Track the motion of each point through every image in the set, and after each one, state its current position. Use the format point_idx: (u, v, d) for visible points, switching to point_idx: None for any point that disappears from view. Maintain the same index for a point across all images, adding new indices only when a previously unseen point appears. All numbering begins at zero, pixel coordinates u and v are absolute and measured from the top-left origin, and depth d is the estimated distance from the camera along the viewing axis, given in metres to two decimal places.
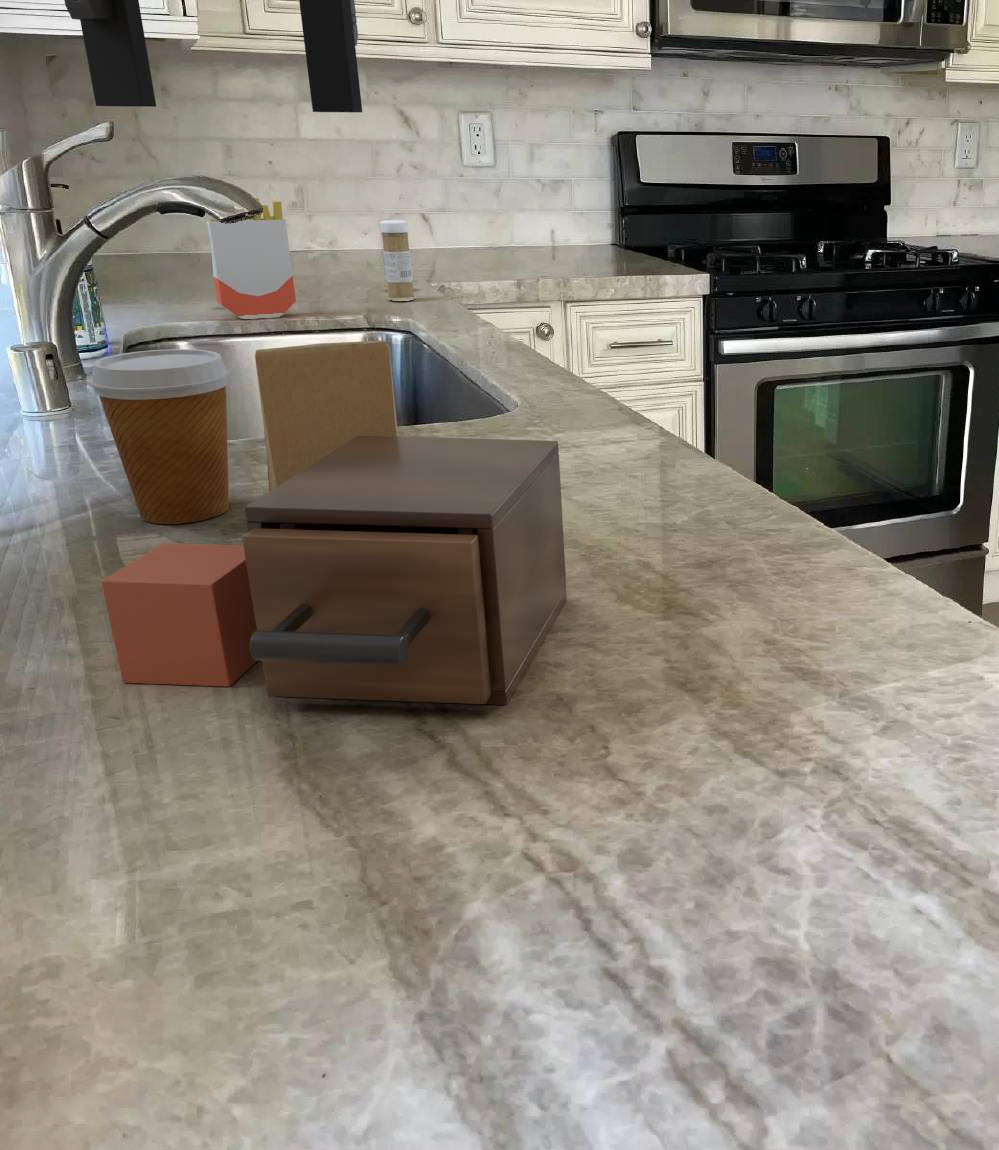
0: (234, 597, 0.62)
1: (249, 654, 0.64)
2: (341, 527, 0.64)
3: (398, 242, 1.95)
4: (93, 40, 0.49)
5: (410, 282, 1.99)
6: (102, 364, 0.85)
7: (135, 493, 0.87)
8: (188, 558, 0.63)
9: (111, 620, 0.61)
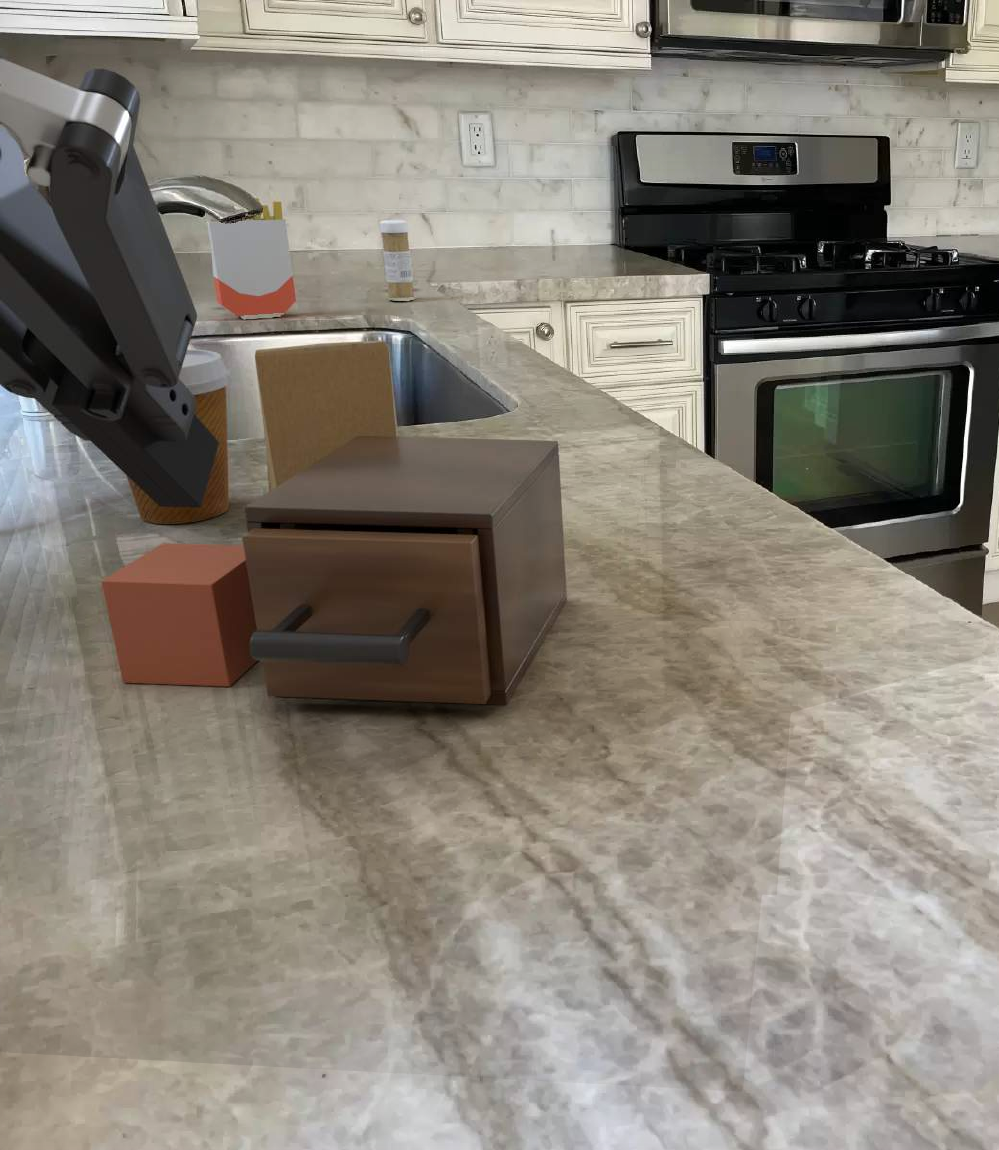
0: (234, 597, 0.62)
1: (249, 654, 0.64)
2: (341, 527, 0.64)
3: (398, 242, 1.95)
4: None
5: (410, 282, 1.99)
6: None
7: (135, 493, 0.87)
8: (188, 558, 0.63)
9: (111, 620, 0.61)
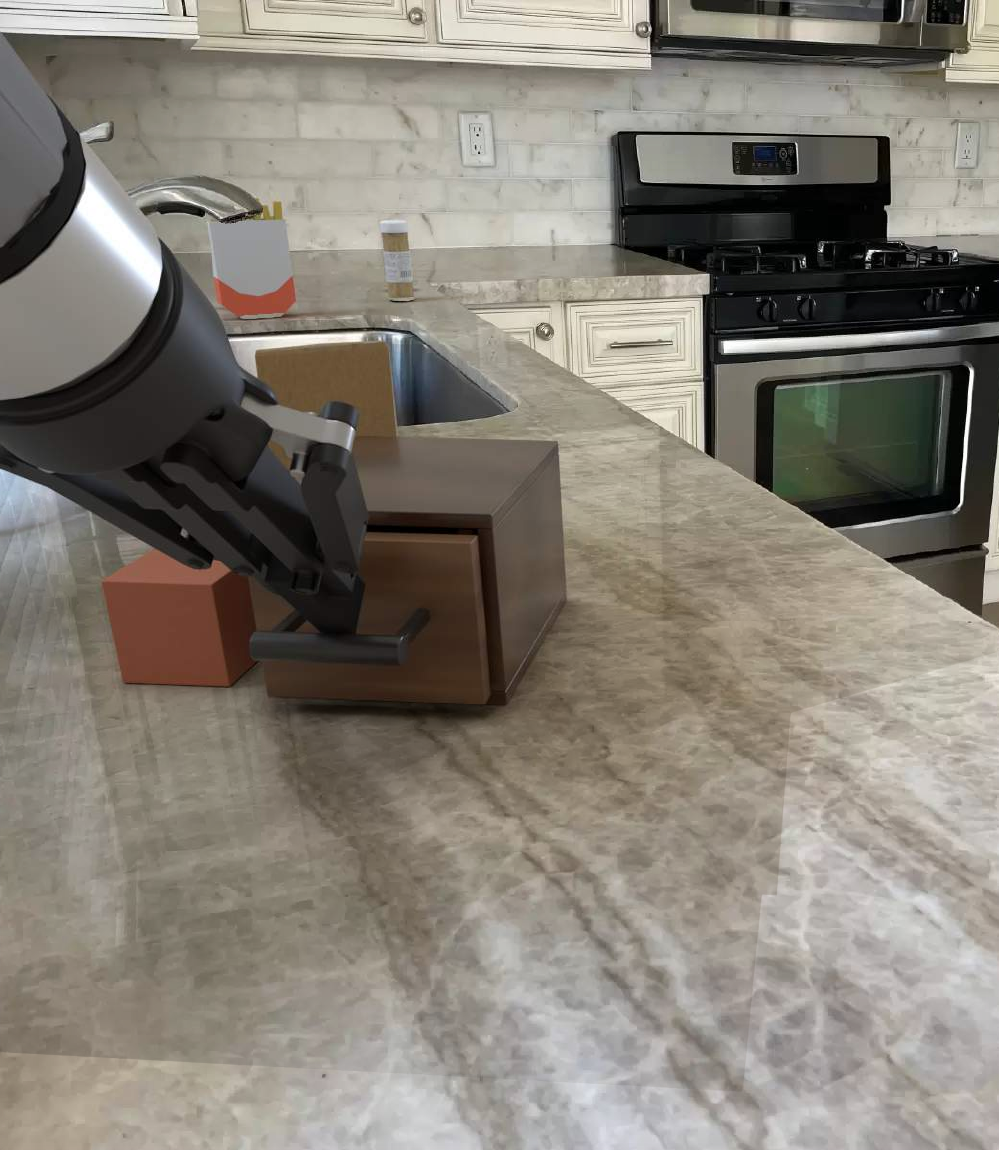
0: (234, 597, 0.62)
1: (249, 654, 0.64)
2: None
3: (398, 242, 1.95)
4: None
5: (410, 282, 1.99)
6: None
7: None
8: None
9: (111, 620, 0.61)
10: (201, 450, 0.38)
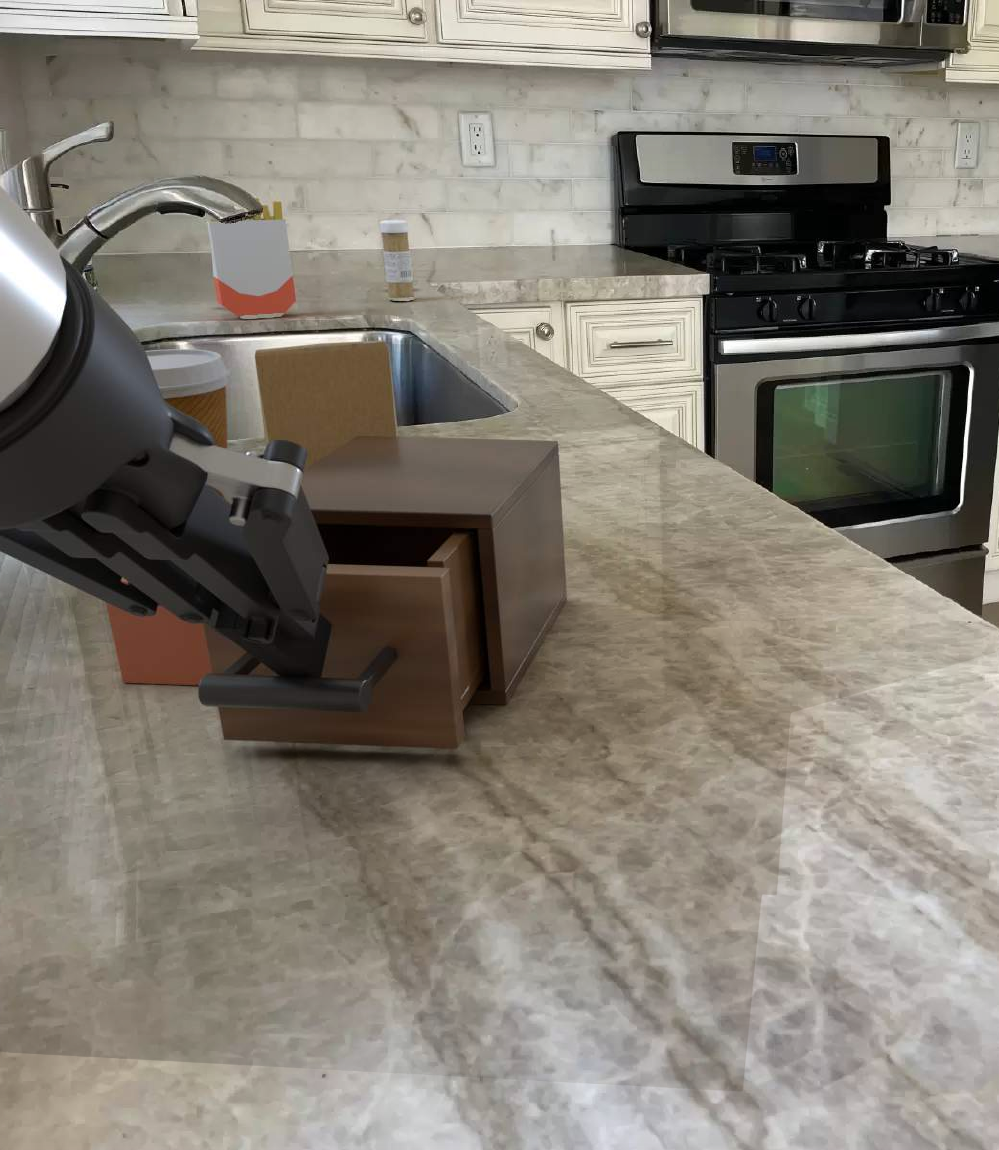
0: None
1: None
2: None
3: (398, 242, 1.95)
4: None
5: (410, 282, 1.99)
6: None
7: None
8: None
9: (111, 620, 0.61)
10: (128, 496, 0.34)
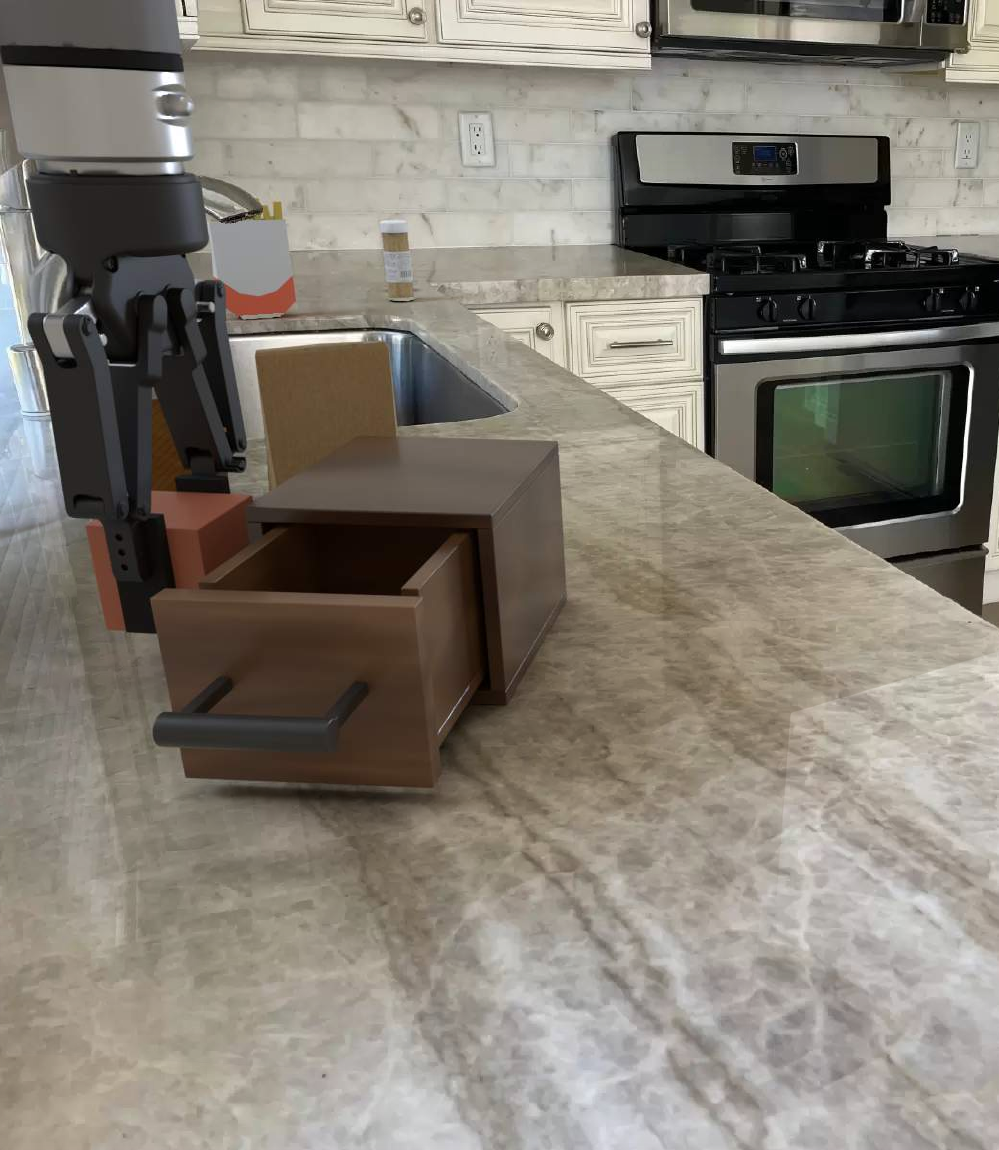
0: (220, 544, 0.61)
1: None
2: (275, 579, 0.56)
3: (398, 242, 1.95)
4: (127, 587, 0.60)
5: (410, 282, 1.99)
6: None
7: None
8: (174, 505, 0.62)
9: (95, 565, 0.60)
10: None
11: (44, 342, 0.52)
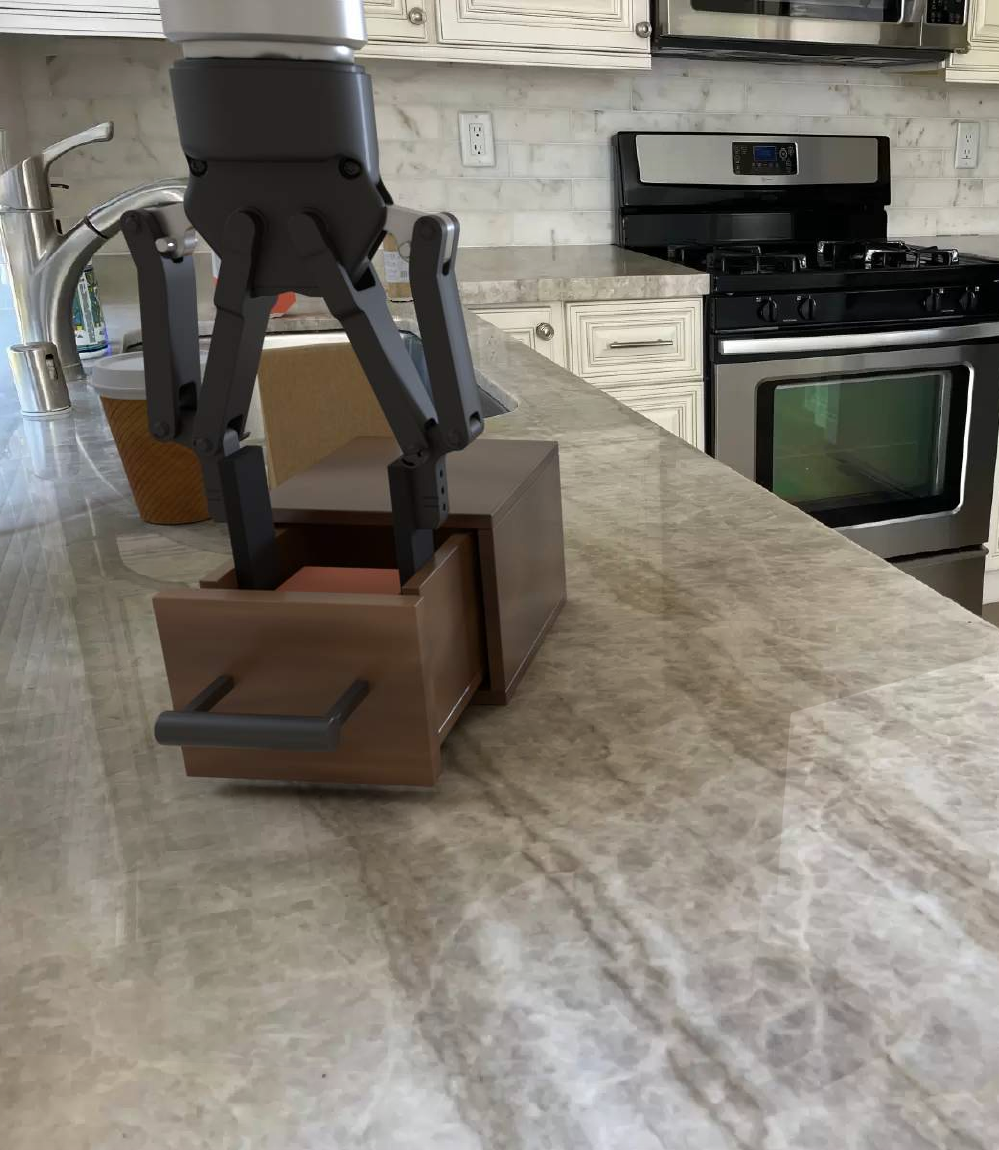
0: None
1: None
2: None
3: None
4: None
5: None
6: (102, 364, 0.85)
7: (135, 493, 0.87)
8: (351, 589, 0.54)
9: None
10: (322, 220, 0.47)
11: None
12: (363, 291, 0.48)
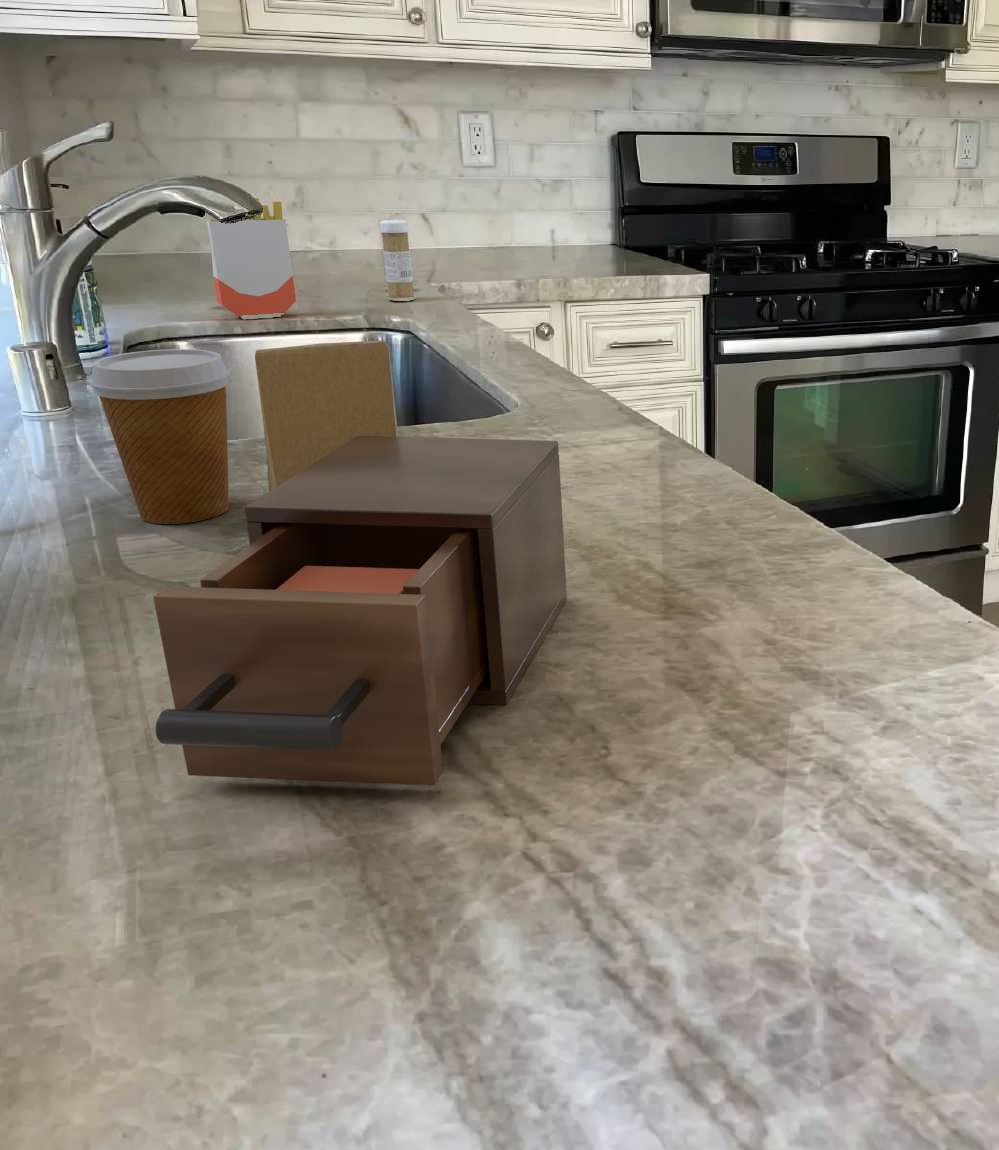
0: None
1: None
2: (278, 578, 0.57)
3: (398, 242, 1.95)
4: None
5: (410, 282, 1.99)
6: (102, 364, 0.85)
7: (135, 493, 0.87)
8: (352, 588, 0.54)
9: None
10: None
11: None
12: None
